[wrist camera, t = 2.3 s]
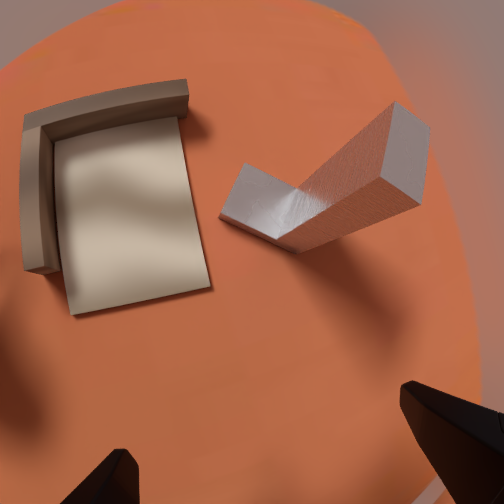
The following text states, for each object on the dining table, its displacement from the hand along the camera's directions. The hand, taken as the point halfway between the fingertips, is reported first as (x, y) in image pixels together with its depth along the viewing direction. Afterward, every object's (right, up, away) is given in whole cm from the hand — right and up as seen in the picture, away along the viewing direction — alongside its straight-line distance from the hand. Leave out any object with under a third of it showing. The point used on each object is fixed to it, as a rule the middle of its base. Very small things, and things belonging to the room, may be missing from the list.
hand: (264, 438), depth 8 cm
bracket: (+1, +8, +14) cm, 16 cm away
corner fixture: (-10, +9, +11) cm, 17 cm away
